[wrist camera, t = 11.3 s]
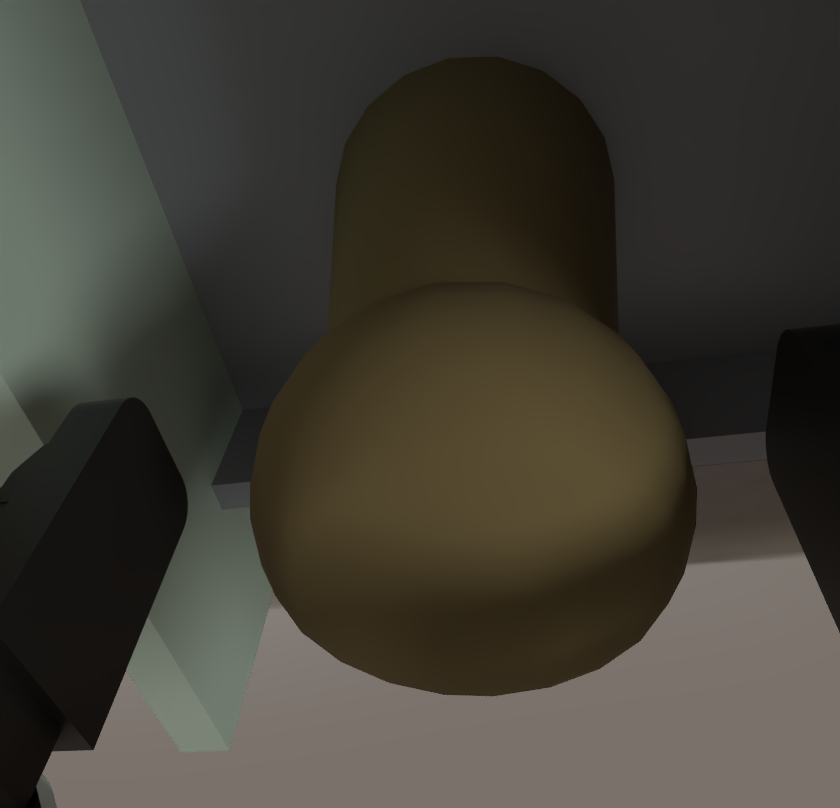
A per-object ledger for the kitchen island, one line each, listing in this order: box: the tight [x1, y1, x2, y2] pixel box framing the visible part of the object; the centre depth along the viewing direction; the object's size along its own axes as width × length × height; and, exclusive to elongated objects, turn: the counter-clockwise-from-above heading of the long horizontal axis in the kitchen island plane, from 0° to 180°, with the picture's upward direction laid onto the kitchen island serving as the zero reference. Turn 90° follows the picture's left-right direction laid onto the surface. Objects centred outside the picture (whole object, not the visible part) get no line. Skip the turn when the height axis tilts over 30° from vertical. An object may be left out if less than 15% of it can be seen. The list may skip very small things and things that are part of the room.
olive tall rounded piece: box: [250, 56, 697, 696], centre depth 12 cm, size 6×6×11 cm
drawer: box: [0, 0, 840, 752], centre depth 12 cm, size 24×22×8 cm
